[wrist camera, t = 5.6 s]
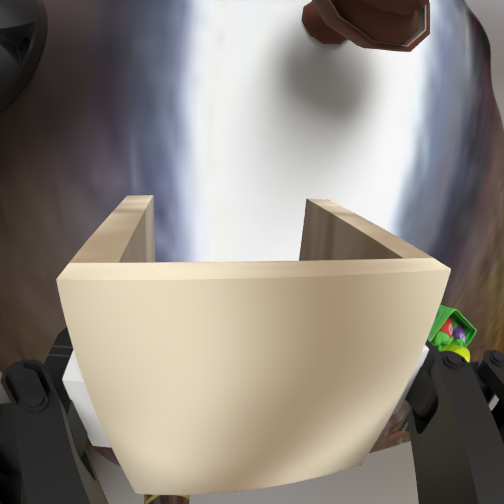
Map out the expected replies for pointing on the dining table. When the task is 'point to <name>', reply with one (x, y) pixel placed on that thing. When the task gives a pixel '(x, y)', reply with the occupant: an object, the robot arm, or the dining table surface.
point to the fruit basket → (451, 332)
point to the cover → (247, 350)
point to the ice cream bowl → (369, 22)
